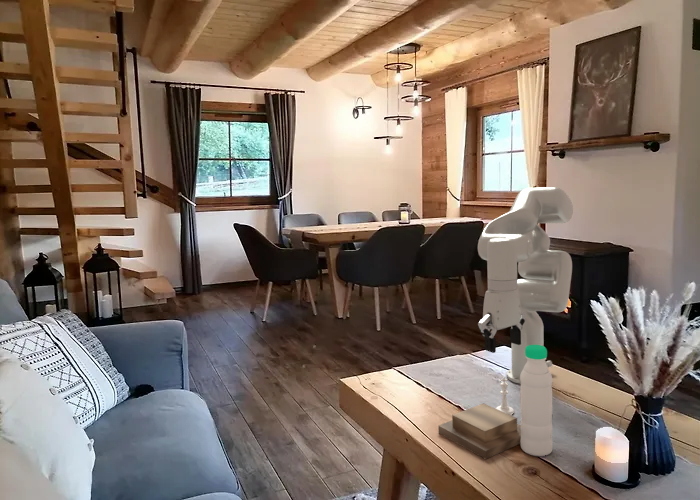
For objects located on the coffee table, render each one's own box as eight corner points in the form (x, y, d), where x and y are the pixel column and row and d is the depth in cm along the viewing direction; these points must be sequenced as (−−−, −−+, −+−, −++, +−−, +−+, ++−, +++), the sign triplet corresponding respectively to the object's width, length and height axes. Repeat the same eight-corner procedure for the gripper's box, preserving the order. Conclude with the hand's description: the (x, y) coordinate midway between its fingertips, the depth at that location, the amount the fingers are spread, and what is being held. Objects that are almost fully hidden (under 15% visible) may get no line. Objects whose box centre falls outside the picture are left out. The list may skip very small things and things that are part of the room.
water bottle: (559, 454, 122) (559, 349, 119) (532, 460, 120) (532, 353, 117) (539, 440, 129) (539, 340, 125) (514, 445, 127) (513, 344, 123)
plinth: (483, 415, 143) (483, 397, 143) (532, 438, 130) (532, 418, 129) (438, 432, 135) (438, 414, 134) (485, 459, 121) (485, 438, 121)
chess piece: (514, 416, 142) (514, 380, 141) (495, 415, 143) (495, 380, 142) (513, 408, 147) (512, 373, 145) (494, 407, 148) (494, 373, 146)
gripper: (513, 278, 148) (514, 337, 150) (468, 287, 139) (469, 351, 141) (535, 282, 141) (536, 344, 144) (489, 292, 132) (490, 358, 135)
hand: (503, 347), depth 142 cm, fingers open, 9 cm apart
